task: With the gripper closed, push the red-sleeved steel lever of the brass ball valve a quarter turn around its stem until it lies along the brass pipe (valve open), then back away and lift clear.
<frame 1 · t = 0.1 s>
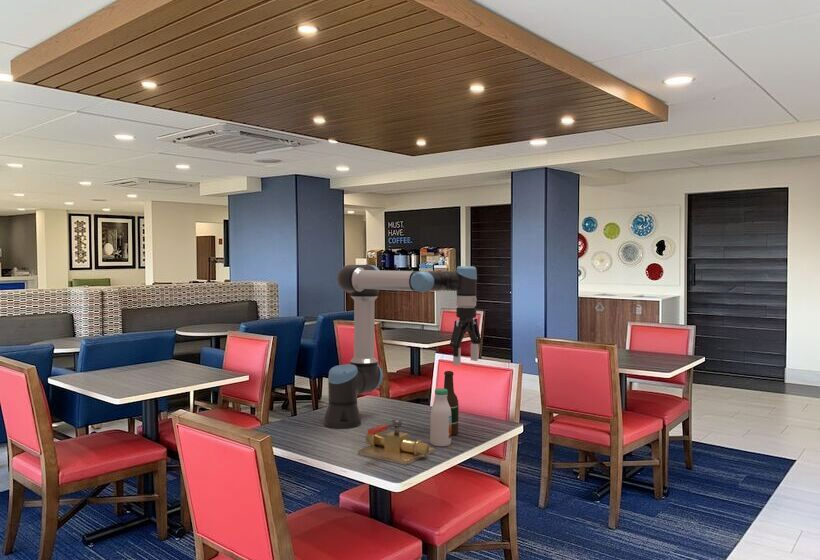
hand: (465, 362, 238), 28 cm above the table, fingers open, 13 cm apart
milk bottle: (440, 444, 228), on the table
lever: (385, 426, 211), point 10 cm above the table, hinge at 0.0°
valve: (396, 452, 217), on the table
beer bottle: (448, 433, 242), on the table
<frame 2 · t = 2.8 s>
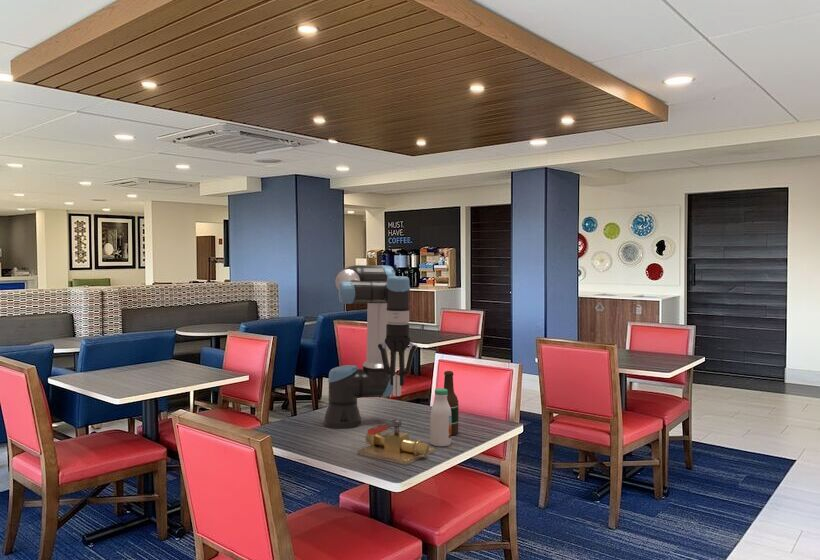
hand: (397, 395, 205), 22 cm above the table, fingers closed
nothing on the table moved.
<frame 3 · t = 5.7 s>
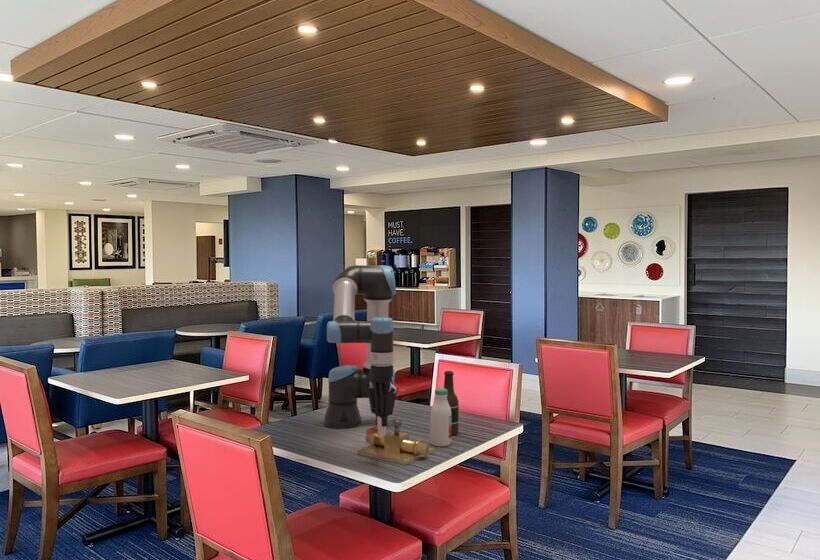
hand: (381, 435, 207), 9 cm above the table, fingers closed
lever: (384, 426, 211), point 10 cm above the table, hinge at -1.9°, touching gripper
everything else where it was.
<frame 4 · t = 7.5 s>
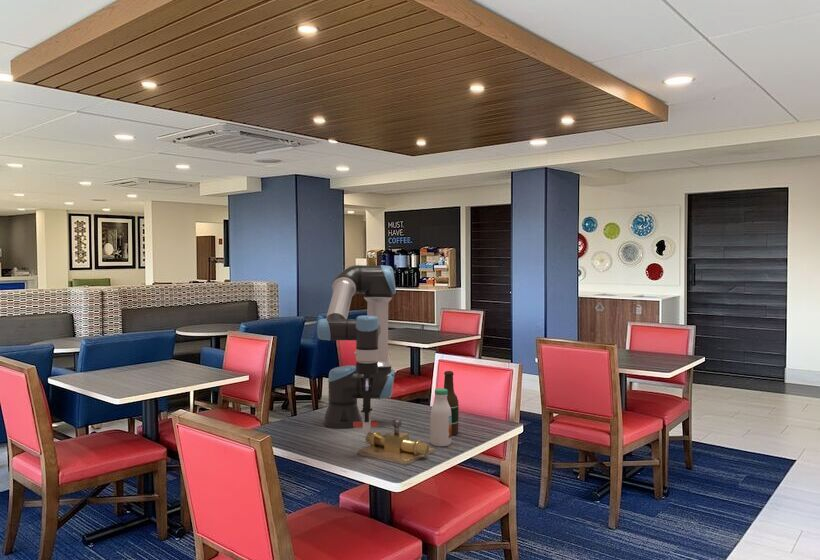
hand: (366, 430, 212), 9 cm above the table, fingers closed
lever: (377, 423, 215), point 10 cm above the table, hinge at -44.5°, touching gripper
everything else where it was.
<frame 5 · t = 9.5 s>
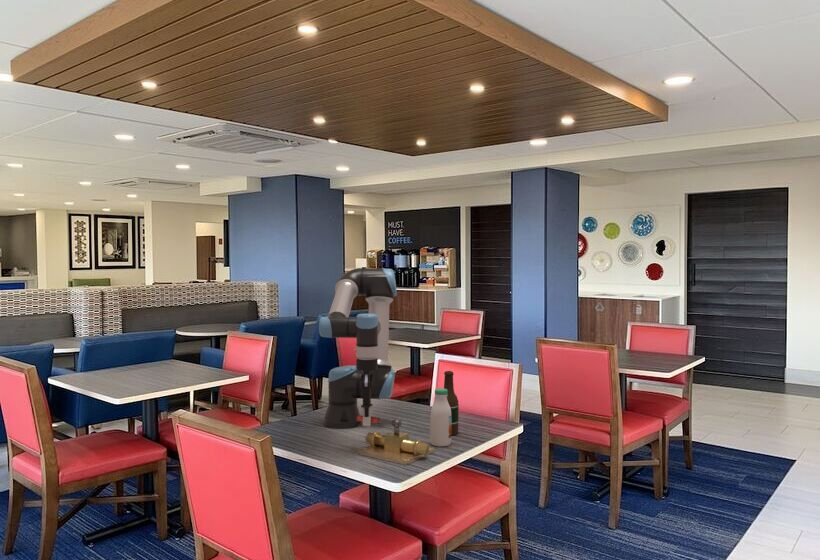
hand: (366, 425, 219), 9 cm above the table, fingers closed
lever: (379, 420, 219), point 10 cm above the table, hinge at -80.1°, touching gripper
everything else where it was.
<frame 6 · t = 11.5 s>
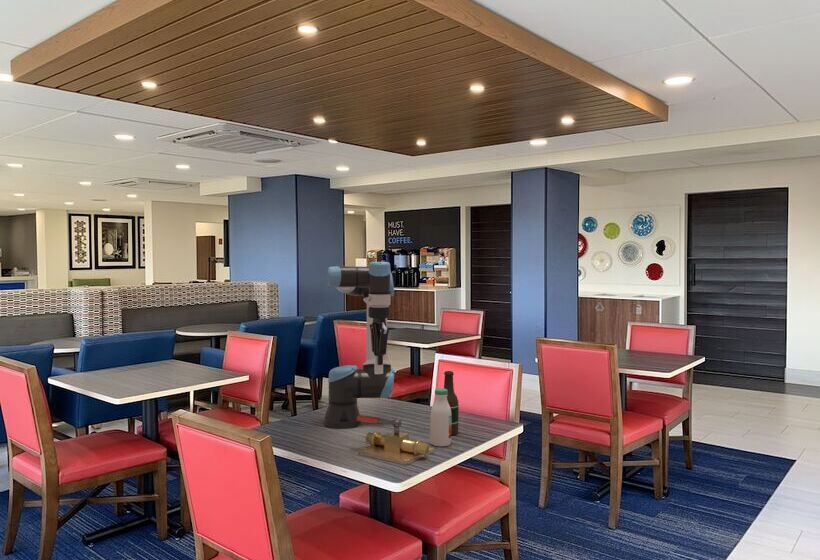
hand: (378, 373, 218), 27 cm above the table, fingers closed
lever: (379, 420, 219), point 10 cm above the table, hinge at -80.1°
everything else where it was.
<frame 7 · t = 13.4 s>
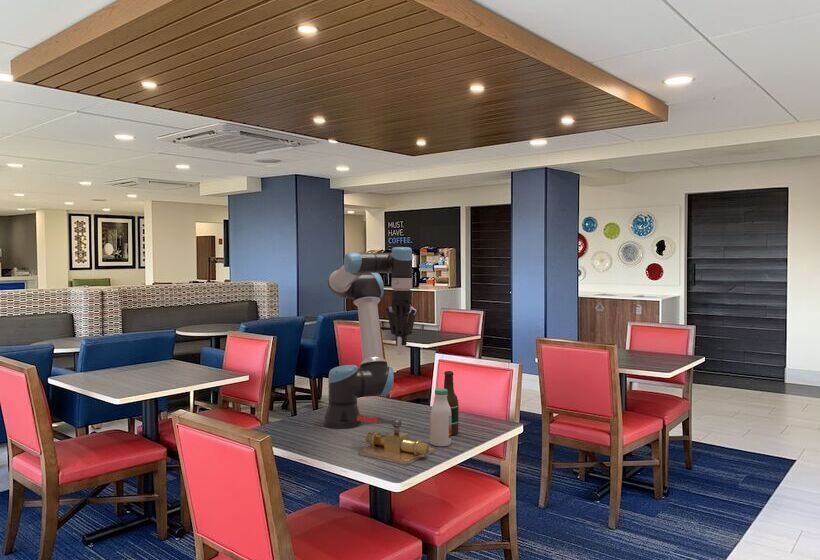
hand: (401, 354, 228), 32 cm above the table, fingers closed
nothing on the table moved.
at the end: lever at -80° (first picture: +0°) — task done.
